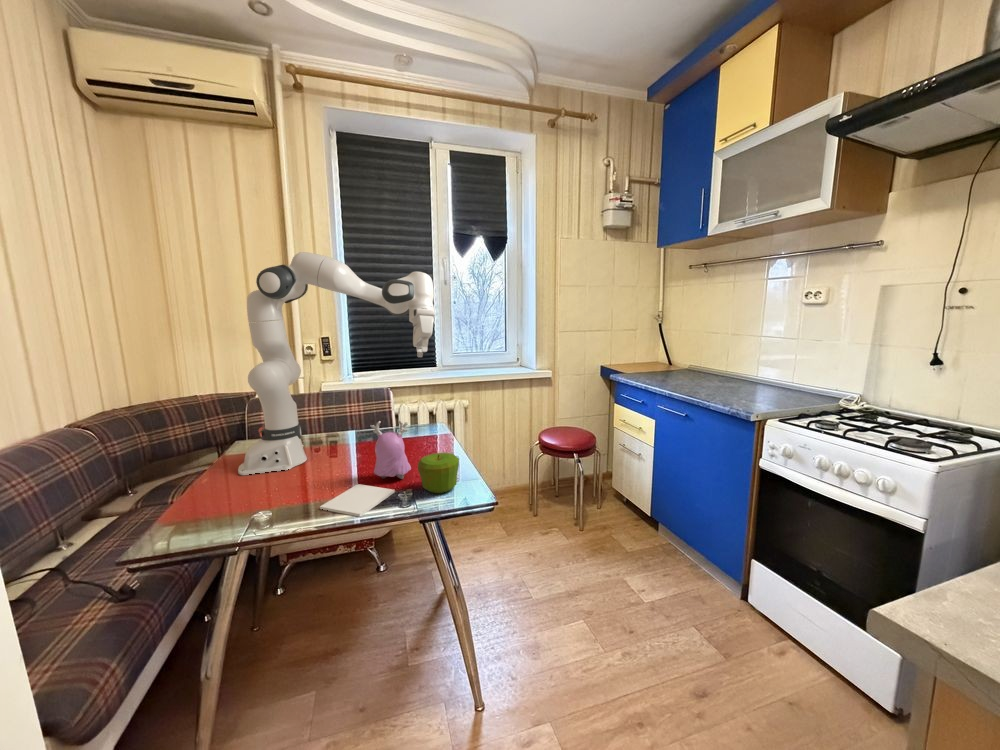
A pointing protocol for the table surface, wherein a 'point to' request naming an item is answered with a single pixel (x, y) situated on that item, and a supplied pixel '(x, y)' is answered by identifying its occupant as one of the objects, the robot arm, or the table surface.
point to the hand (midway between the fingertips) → (422, 354)
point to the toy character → (390, 453)
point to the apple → (438, 472)
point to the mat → (357, 500)
